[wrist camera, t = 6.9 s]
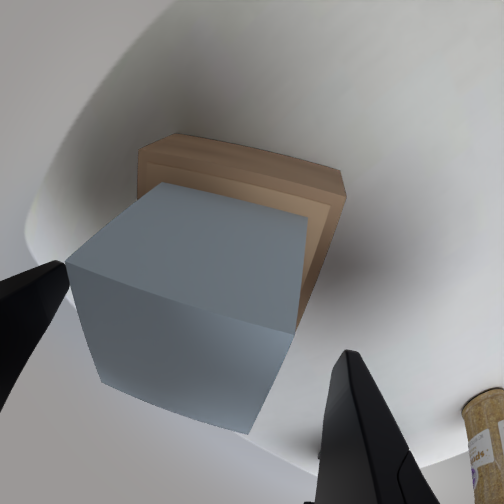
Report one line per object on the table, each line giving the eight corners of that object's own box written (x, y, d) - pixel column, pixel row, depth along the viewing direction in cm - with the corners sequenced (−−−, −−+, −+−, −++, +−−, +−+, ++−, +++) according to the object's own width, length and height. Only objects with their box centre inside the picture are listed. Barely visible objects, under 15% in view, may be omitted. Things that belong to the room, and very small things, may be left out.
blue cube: (273, 325, 12) (248, 434, 8) (159, 292, 13) (101, 382, 8) (308, 217, 9) (294, 335, 5) (161, 181, 10) (64, 261, 6)
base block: (296, 301, 15) (289, 346, 13) (166, 265, 16) (140, 301, 13) (340, 170, 11) (346, 197, 9) (175, 133, 12) (137, 149, 9)
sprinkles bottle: (456, 404, 18) (468, 551, 7) (503, 379, 16) (530, 526, 4) (466, 420, 19) (476, 546, 8) (507, 398, 17) (527, 524, 6)
